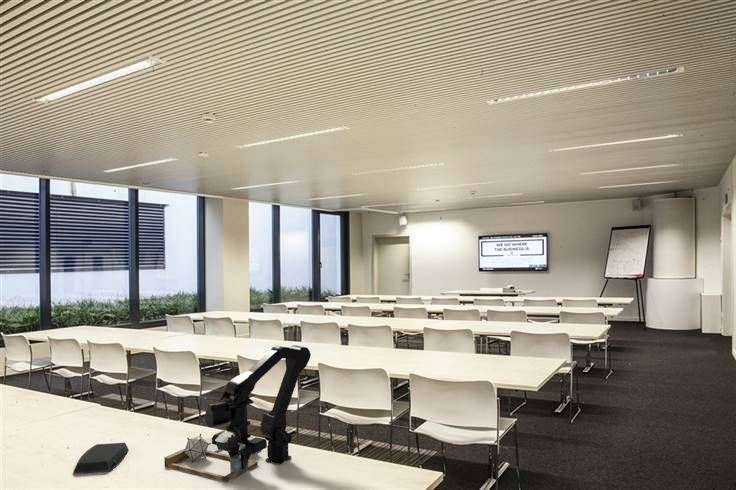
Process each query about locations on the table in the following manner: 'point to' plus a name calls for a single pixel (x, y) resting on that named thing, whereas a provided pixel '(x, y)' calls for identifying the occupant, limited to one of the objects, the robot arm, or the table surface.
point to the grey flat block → (214, 449)
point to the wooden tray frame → (234, 472)
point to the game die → (196, 448)
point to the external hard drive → (101, 458)
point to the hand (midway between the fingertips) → (239, 468)
